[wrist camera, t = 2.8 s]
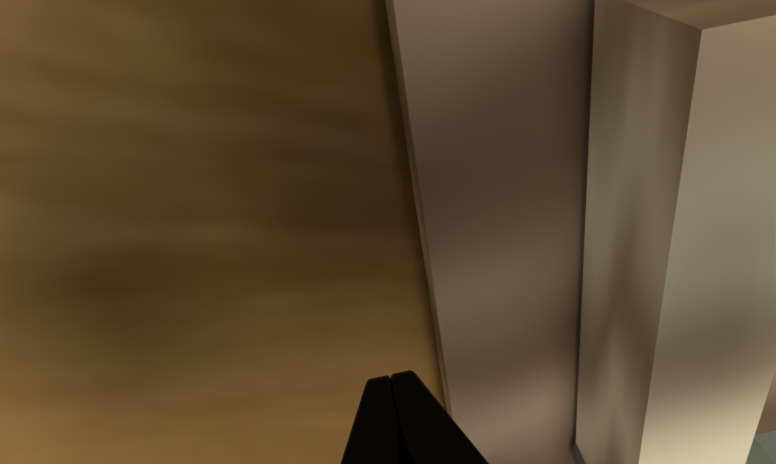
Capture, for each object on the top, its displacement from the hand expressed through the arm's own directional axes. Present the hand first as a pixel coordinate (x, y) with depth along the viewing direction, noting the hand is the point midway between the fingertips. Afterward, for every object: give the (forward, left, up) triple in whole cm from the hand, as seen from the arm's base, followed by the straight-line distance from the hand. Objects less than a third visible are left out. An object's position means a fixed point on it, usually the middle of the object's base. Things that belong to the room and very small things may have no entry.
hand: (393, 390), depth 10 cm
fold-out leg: (-3, -7, -4) cm, 9 cm away
